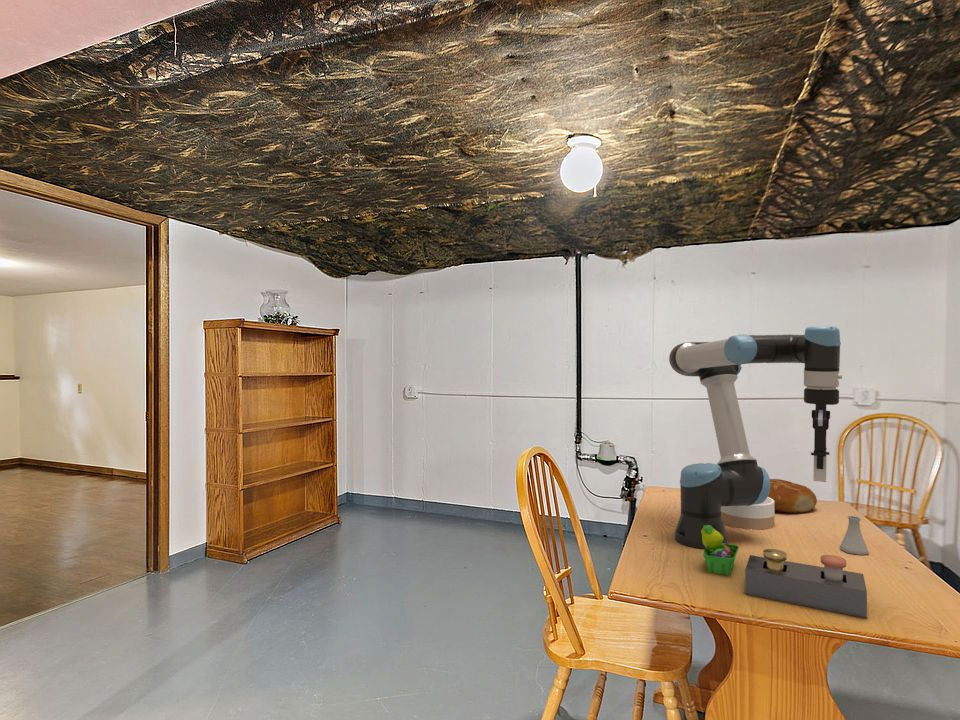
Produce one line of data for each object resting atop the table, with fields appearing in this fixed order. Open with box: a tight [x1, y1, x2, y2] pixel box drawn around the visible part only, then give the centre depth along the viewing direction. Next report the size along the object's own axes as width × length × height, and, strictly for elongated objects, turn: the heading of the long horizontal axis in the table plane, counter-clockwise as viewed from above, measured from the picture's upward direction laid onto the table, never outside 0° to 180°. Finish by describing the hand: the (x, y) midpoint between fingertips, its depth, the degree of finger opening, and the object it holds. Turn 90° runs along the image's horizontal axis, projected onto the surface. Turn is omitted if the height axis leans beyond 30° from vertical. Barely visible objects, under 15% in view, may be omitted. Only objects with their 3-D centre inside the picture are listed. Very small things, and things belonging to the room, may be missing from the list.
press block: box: [744, 554, 868, 619], centre depth 130 cm, size 24×11×6 cm, turn 58°
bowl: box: [721, 497, 776, 531], centre depth 188 cm, size 17×17×8 cm
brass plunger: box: [762, 548, 788, 572], centre depth 134 cm, size 5×5×8 cm
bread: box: [768, 478, 818, 514], centre depth 206 cm, size 23×23×10 cm
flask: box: [839, 515, 870, 556], centre depth 160 cm, size 7×7×10 cm
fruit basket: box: [701, 525, 740, 576], centre depth 149 cm, size 11×9×11 cm
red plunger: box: [820, 554, 847, 582], centre depth 127 cm, size 5×5×8 cm
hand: (819, 480), depth 138 cm, fingers closed
